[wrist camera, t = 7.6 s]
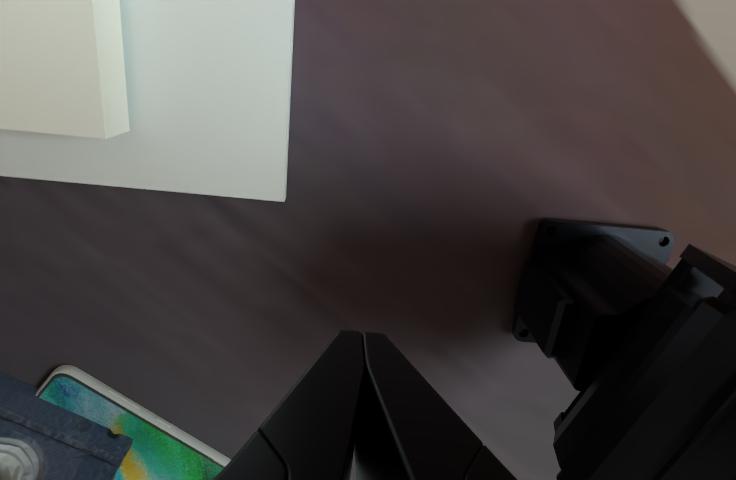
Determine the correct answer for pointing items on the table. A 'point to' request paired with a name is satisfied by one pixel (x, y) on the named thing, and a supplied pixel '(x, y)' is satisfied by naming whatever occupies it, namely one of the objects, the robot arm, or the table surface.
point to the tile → (62, 68)
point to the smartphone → (134, 430)
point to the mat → (185, 105)
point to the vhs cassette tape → (52, 439)
